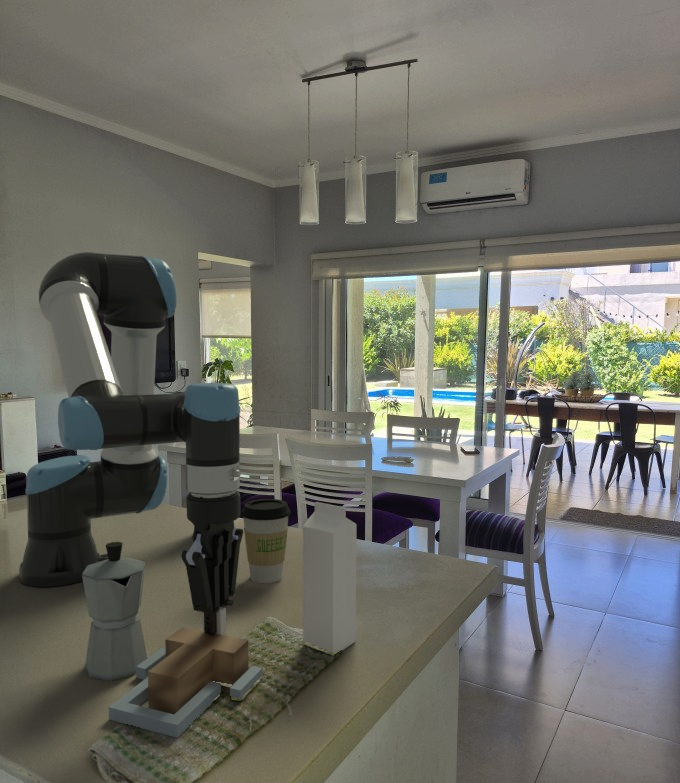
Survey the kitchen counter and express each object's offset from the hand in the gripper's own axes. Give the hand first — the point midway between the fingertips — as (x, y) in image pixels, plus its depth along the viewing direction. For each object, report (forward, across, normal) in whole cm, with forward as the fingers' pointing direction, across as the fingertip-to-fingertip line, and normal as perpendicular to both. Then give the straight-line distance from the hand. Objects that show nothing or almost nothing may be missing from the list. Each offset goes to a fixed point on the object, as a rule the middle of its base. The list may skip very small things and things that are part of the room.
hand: (215, 651), depth 89 cm
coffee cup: (+2, +33, +9) cm, 34 cm away
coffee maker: (+2, -5, +14) cm, 15 cm away
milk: (+2, +12, -13) cm, 18 cm away
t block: (+2, -7, 0) cm, 7 cm away
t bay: (+2, -9, 0) cm, 9 cm away
